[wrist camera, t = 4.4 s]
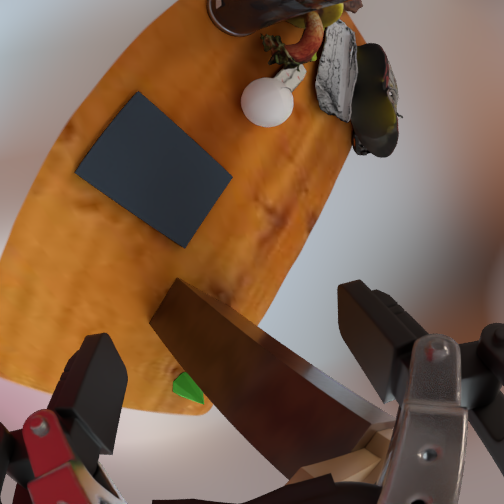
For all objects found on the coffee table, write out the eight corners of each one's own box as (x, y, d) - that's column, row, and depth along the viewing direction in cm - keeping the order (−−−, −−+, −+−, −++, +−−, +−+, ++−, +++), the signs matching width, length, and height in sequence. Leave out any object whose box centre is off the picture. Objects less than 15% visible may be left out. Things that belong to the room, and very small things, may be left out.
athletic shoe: (421, 157, 47) (394, 165, 59) (408, 44, 44) (387, 66, 56) (360, 147, 47) (341, 158, 59) (353, 30, 44) (338, 56, 56)
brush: (320, 442, 13) (394, 493, 9) (390, 428, 25) (426, 449, 21) (257, 512, 12) (316, 564, 8) (356, 471, 24) (390, 494, 20)
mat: (136, 92, 31) (138, 91, 30) (229, 176, 43) (233, 177, 42) (74, 172, 29) (74, 172, 29) (182, 246, 41) (185, 248, 41)
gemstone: (180, 368, 47) (197, 389, 42) (207, 372, 51) (225, 391, 46) (166, 394, 47) (182, 416, 42) (193, 397, 51) (210, 417, 46)
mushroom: (319, 25, 27) (301, -38, 27) (254, 67, 37) (248, 2, 37) (375, 63, 35) (353, -2, 34) (313, 89, 45) (301, 27, 44)
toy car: (358, 156, 57) (346, 154, 60) (396, 152, 60) (385, 150, 63) (356, 129, 54) (345, 127, 58) (396, 127, 58) (384, 126, 61)
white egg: (289, 107, 33) (260, 63, 33) (246, 138, 38) (221, 95, 38) (317, 111, 41) (293, 73, 40) (280, 135, 46) (259, 98, 45)
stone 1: (352, 32, 48) (322, 9, 41) (365, 31, 45) (336, 6, 39) (337, 122, 54) (303, 107, 48) (350, 124, 52) (318, 108, 46)
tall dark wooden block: (177, 277, 42) (371, 423, 18) (231, 307, 50) (398, 419, 26) (148, 323, 41) (309, 498, 17) (206, 346, 49) (356, 474, 25)
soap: (275, 106, 44) (280, 106, 43) (262, 84, 41) (267, 84, 40) (305, 74, 46) (309, 74, 45) (295, 54, 42) (299, 53, 42)
